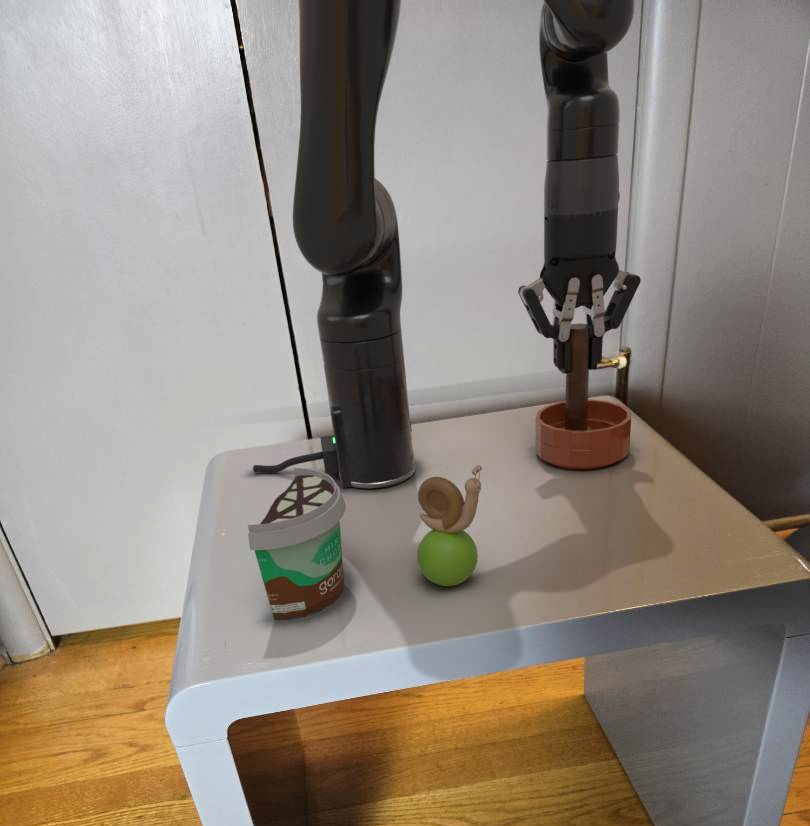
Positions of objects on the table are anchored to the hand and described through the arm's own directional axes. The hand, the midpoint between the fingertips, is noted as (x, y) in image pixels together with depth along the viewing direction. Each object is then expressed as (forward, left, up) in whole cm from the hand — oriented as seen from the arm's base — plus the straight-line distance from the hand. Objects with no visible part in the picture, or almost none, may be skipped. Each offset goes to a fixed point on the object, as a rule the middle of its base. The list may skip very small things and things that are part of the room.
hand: (577, 369), depth 85 cm
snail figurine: (-20, -24, -11) cm, 33 cm away
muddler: (0, 0, -9) cm, 9 cm away
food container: (-32, -22, -11) cm, 40 cm away
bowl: (+1, 0, -11) cm, 11 cm away
